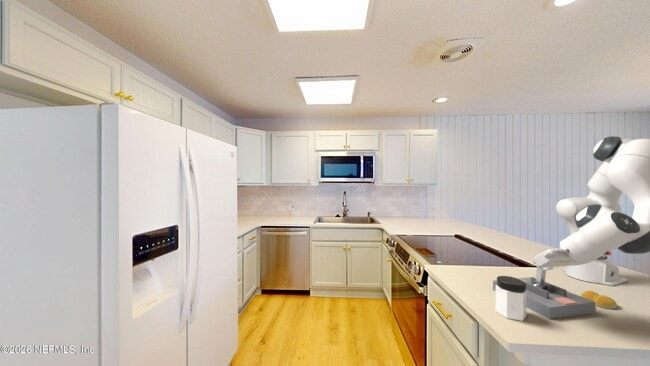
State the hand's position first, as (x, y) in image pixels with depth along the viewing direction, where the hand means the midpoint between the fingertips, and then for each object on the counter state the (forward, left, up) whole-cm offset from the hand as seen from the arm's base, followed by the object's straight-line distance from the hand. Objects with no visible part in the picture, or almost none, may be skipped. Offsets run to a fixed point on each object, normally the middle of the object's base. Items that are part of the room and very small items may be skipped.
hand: (545, 268), depth 89 cm
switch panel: (-1, -3, -14) cm, 15 cm away
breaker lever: (-1, -3, -10) cm, 11 cm away
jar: (+19, +3, -14) cm, 24 cm away
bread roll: (-22, +2, -15) cm, 26 cm away
